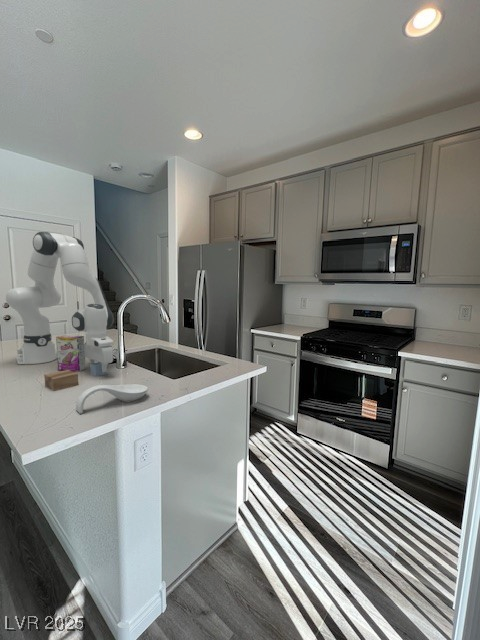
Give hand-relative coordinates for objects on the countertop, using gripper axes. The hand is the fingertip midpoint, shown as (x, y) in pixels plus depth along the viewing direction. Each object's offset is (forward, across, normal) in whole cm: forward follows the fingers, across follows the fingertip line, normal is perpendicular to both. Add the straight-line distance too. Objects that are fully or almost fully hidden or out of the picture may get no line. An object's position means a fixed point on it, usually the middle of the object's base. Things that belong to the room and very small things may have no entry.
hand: (98, 369), depth 135 cm
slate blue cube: (+2, 0, 0) cm, 2 cm away
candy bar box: (+2, -16, -5) cm, 17 cm away
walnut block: (+2, +4, -17) cm, 18 cm away
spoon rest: (+2, +37, -12) cm, 39 cm away
